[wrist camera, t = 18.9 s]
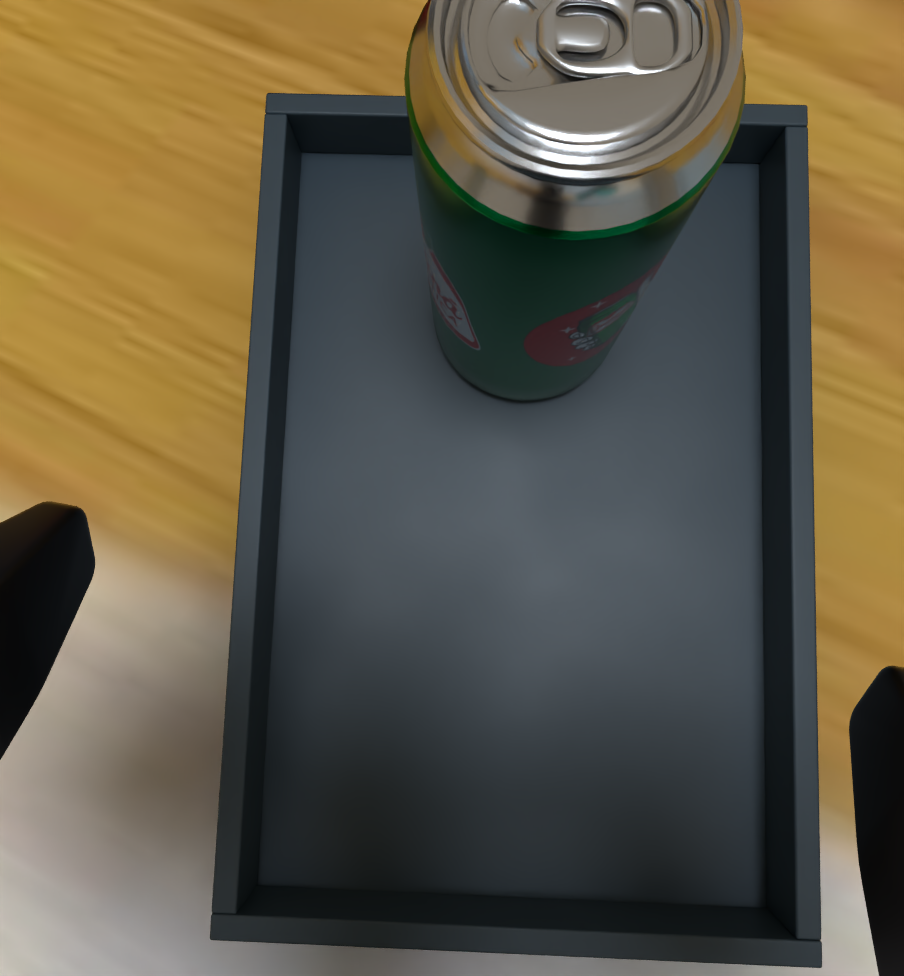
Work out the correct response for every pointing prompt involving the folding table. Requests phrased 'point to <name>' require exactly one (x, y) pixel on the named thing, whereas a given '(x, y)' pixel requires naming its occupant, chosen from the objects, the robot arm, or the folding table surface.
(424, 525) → the tray
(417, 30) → the soda can
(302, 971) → the folding table surface
